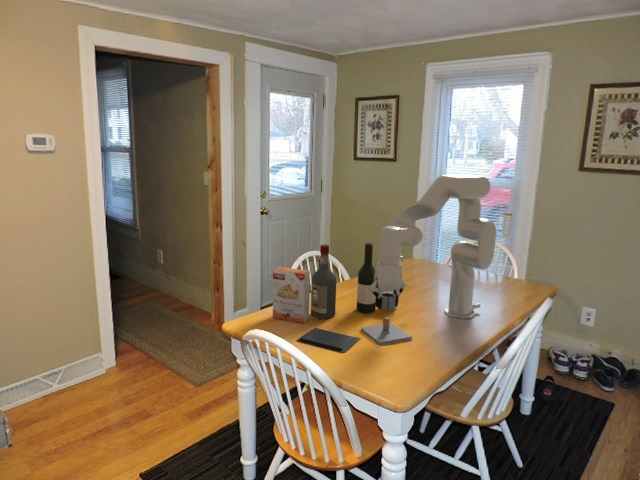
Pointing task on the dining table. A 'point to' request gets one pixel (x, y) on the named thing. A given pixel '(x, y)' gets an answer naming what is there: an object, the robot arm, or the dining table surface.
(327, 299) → the liquor
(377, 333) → the post base
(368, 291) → the wine bottle
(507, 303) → the dining table surface
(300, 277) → the cracker box
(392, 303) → the collar
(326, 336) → the wallet
